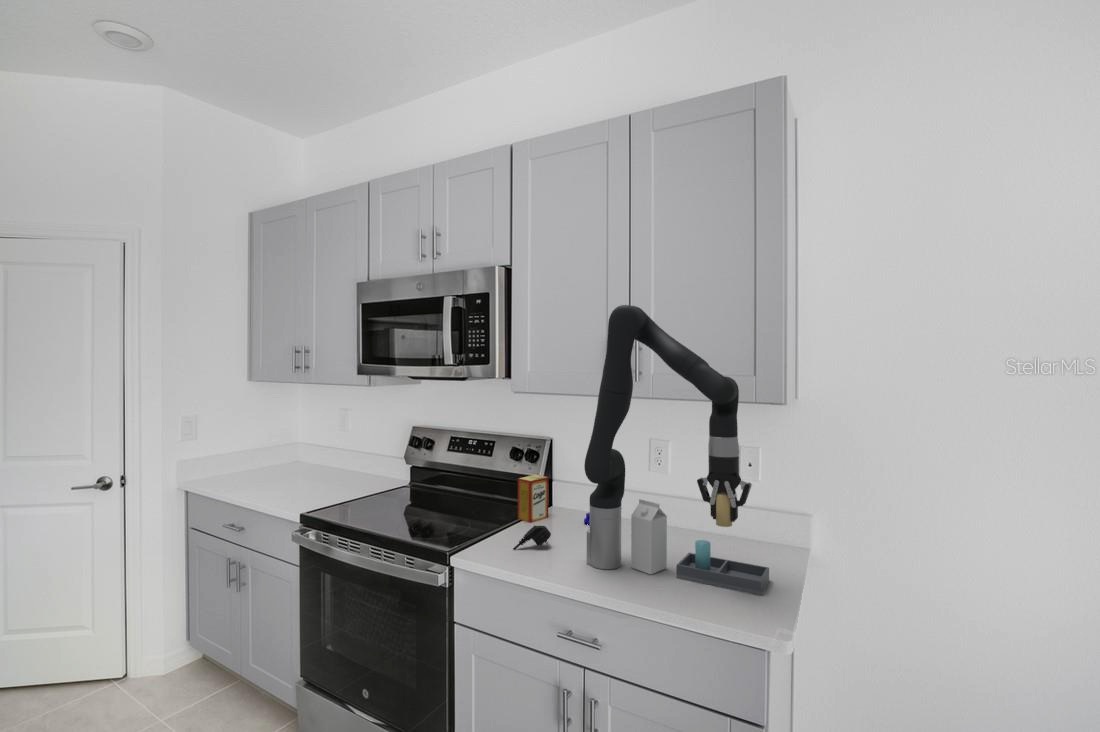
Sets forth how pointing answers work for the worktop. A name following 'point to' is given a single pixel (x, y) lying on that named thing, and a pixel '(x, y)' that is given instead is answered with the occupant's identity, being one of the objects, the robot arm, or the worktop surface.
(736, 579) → the grey divided tray
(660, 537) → the milk carton
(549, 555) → the worktop surface
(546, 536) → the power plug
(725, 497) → the tan rounded cylinder
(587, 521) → the cable holder
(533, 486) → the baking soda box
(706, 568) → the teal rounded cylinder
